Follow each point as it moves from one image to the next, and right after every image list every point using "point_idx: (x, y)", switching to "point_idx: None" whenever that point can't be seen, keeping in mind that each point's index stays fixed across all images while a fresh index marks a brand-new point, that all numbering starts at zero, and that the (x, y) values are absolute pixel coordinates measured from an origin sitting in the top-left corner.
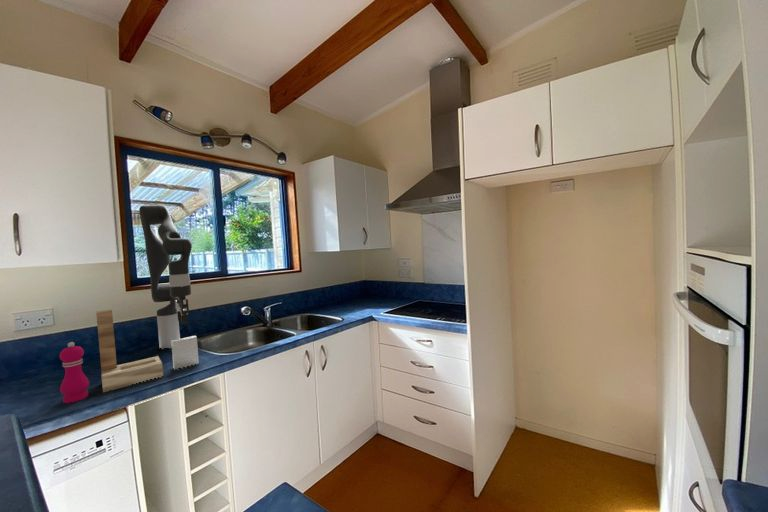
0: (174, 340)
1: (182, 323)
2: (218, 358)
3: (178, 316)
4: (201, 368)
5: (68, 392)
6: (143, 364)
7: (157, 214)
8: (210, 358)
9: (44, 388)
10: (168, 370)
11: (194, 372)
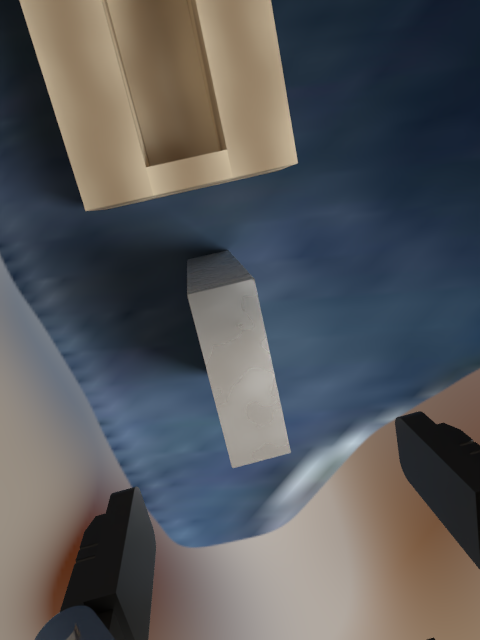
0: (234, 307)
1: (112, 497)
2: None
3: (435, 458)
4: (120, 391)
5: None
6: (210, 78)
7: None
8: None
9: None
10: (204, 227)
11: (72, 362)
